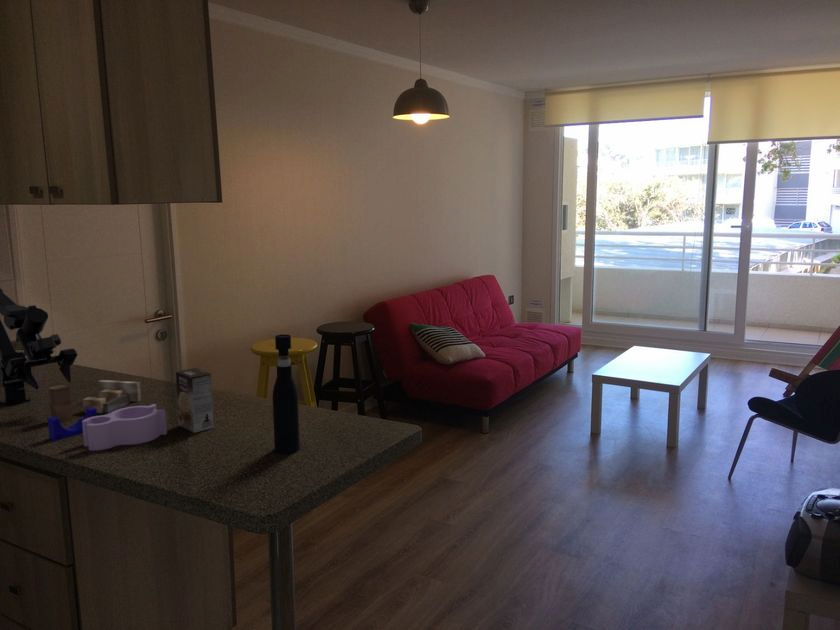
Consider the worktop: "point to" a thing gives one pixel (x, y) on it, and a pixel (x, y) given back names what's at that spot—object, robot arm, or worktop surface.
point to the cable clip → (60, 433)
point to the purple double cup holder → (124, 427)
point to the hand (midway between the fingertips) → (54, 384)
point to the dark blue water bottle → (285, 401)
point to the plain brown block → (60, 403)
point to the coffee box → (194, 399)
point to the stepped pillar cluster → (113, 395)
